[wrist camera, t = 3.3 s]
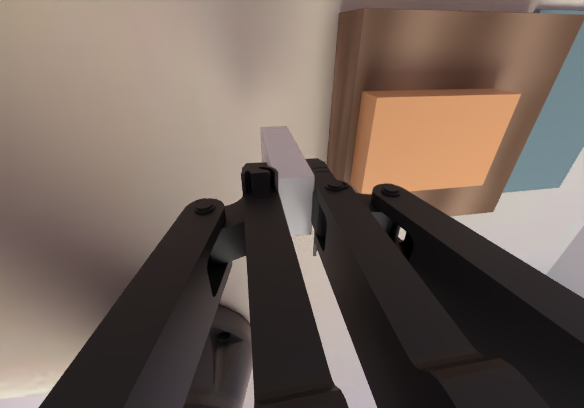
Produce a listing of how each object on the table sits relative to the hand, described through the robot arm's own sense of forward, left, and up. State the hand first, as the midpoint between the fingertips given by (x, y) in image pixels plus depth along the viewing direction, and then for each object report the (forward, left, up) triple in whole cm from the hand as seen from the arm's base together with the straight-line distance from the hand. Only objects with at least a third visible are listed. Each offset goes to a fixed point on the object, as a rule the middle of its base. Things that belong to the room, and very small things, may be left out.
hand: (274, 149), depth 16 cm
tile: (+10, 0, -1) cm, 10 cm away
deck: (+12, 0, -5) cm, 13 cm away
